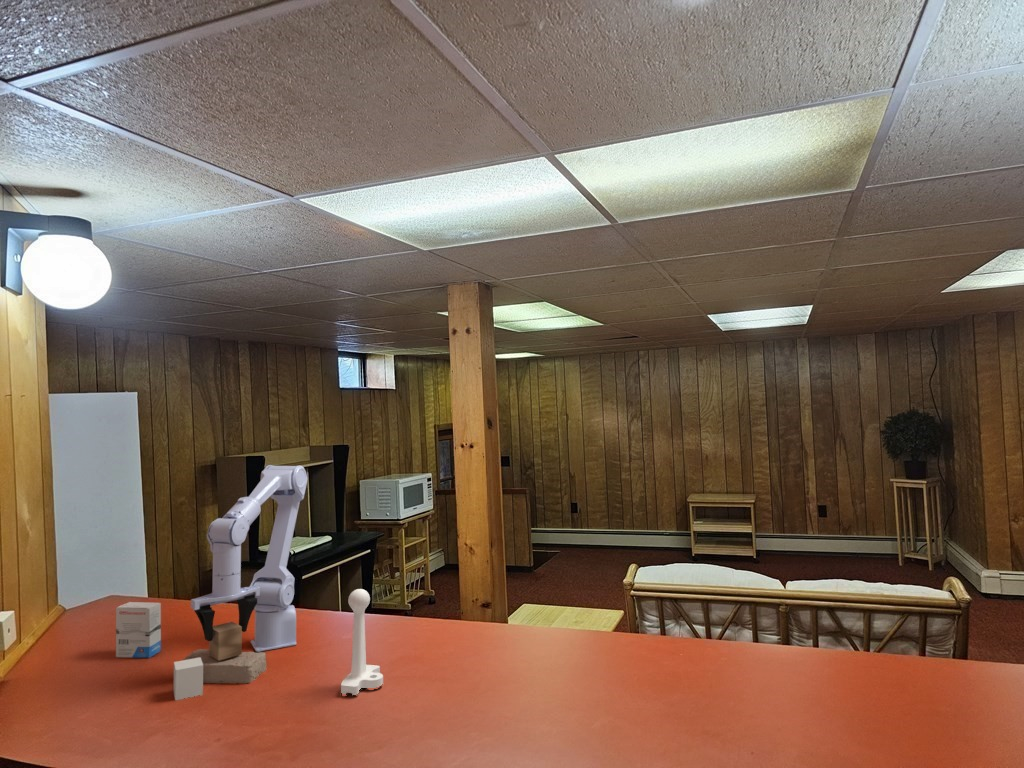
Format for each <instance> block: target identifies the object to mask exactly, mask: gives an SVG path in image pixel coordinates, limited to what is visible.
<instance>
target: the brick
mask: <svg viewBox="0 0 1024 768" xmlns="http://www.w3.org/2000/svg"><path fill="white" fill-rule="evenodd" d="M199 657H201V660H202V663H203V684H236V683H239V684H246V683H249V684H251V683H250V682H252V681H253V680H255V681H256V679H257V678H259V677H260V676H259V674H261V673H262V672H264V671H265V670H266V671H267V660H266V659H267V656H266V652H264V651H260V652H254V651H248V652H247V651H242V654H241V655H237V656H234V657H230V658H227V659H223V660H219V661H218V660H217V659H215V658H213V657H212V656H210V655H209V649H205V648H204V649H203V648H200V649H196V650H193V651H192V652H191V653H189V654H188V655H187V656H185V657H184V658H183V659H182V660H181V661H183V660H188V659H194V658H199ZM266 671H265V672H266ZM265 672H264V673H265ZM261 675H262V674H261ZM258 676H259V677H258ZM256 677H257V678H256ZM255 678H256V679H255ZM253 682H254V681H253ZM253 682H252V683H253Z"/></svg>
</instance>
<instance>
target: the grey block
mask: <svg viewBox="0 0 1024 768" xmlns="http://www.w3.org/2000/svg"><path fill="white" fill-rule="evenodd" d="M182 660H183V659H182ZM182 660H179V661H173V689H172V690H173V696H174V701H181V700H185V699H189V698H188V697H190V698H194V696H195V697H199V696H198V695H200V696H203V695H204V683H203V663H202V660H201V657H199V658H194V659H188V660H183V661H182ZM184 698H185V699H184Z"/></svg>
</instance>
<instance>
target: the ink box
mask: <svg viewBox="0 0 1024 768" xmlns="http://www.w3.org/2000/svg"><path fill="white" fill-rule="evenodd" d="M161 605H162V603H161V602H146V601H145V602H143V601H142V602H137V601H128V602H127V603H124V604H121V605H119V606H117V607H116V608H115V617H116V618H115V657H116V658H134V659H137V658H139V659H142V658H144V659H150V658H152V657H153V656H155V655H156V654H158V653H160V652H161V651H162V611H161V609H162V606H161Z"/></svg>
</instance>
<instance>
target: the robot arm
mask: <svg viewBox="0 0 1024 768" xmlns="http://www.w3.org/2000/svg"><path fill="white" fill-rule="evenodd" d="M307 484H308V475H307V471H306V469H305V467H304V466H302V465H300V464H299V465H273V464H269V465H266V466H265V467H264V469H263V470H262V471H261V473H260V481H259V482H258V483H257V485H256V486H255V488H254V489H253V490H252V492H251V493H250V494H249V495H248V496H243V497H240V498H238V499H237V502H235V504H234V505H233V506H232V507H231V508H230V509H229V510H228V511H227V512H226V513H225V514H224V515H223V516H222V518H221V517H218V518H216V519H215V520H214V521H212V522H210V525H209V527H208V530H207V532H206V538H207V541H208V543H209V545H210V549H209V551H211V552H210V553H212V588H211V589H212V592H211V593H209V594H205V595H202V596H199V597H196V598H192V599H190V609H191V610H193V611H194V613H195V614H196V617H197V618H198V620H199V623H200V625H201V627H202V630H203V631H202V632H203V635H204V640H206V641H207V642H209V641H212V638H213V626H214V618H215V614H216V613H215V612H216V611H215V610H214V609H213V608H212V607H211V606H215V605H216V606H217V605H219V604H224V603H228V602H234V601H237V607H238V608H237V609H238V625H240V626H242V633H245V632H247V629H248V626H249V623H250V620H251V619H250V618H251V616H252V613H253V611H254V639H252V640H250V644H251V646H252V647H253V649H254V650H255V653H260V652H266V651H270V650H274V649H280V648H281V649H282V648H286V647H292V646H296V645H297V611H296V608H295V605H293V604H291V603H292V602H293V600H294V595H295V577H294V575H293V574H292V573H291V572H290V571H289V569H288V568H287V566H288V561H289V557H290V552H291V551H290V550H291V547H292V542H293V537H294V532H295V527H296V523H297V516H298V512H299V508H300V504H301V503H300V502H301V501H303V500H304V499H305V494H306V489H307ZM268 499H272V500H274V501H276V503H277V509H276V513H275V517H274V518H275V519H274V523H273V527H272V532H271V537H270V540H269V545H268V549H267V555H266V558H265V563H264V566H263V567H262V568H261V569H259V570H258V571H257V572H255V573H254V574H253V578H252V580H251V583H250V584H249V586H245V587H241V583H242V580H241V577H242V575H241V571H242V568H241V567H242V564H241V563H242V543H244V542H245V541H246V538H247V535H248V532H249V531H250V526H251V525H252V524H253V522H254V521H255V520H256V519H257V518H258V516H260V513H261V512H262V511H261V506H262V505H263V504H264V503H265V502H267V500H268Z"/></svg>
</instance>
